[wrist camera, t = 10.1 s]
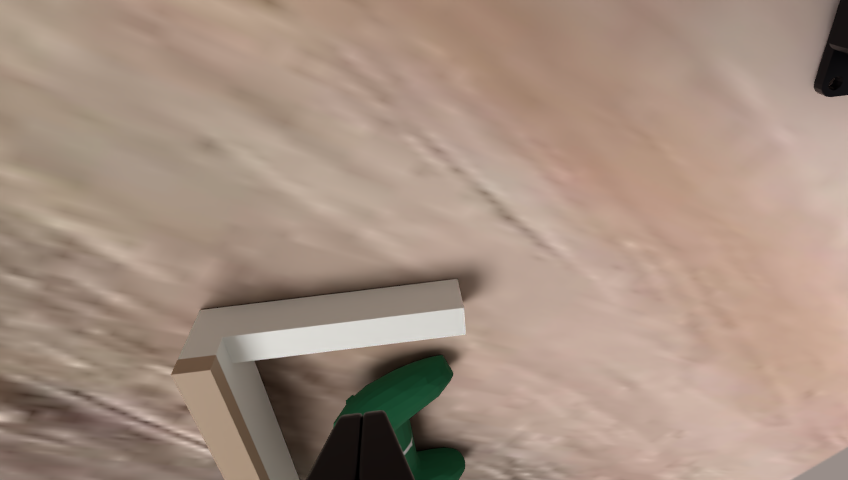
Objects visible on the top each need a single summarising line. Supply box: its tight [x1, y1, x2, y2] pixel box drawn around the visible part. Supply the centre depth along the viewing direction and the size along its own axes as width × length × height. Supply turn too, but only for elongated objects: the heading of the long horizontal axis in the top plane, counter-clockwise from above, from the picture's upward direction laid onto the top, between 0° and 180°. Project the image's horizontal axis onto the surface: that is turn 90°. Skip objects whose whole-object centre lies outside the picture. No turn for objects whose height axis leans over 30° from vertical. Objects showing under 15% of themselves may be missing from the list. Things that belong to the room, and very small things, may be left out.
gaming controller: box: [333, 355, 465, 480], centre depth 26 cm, size 9×4×6 cm
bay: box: [171, 279, 466, 480], centre depth 26 cm, size 12×18×4 cm, turn 5°
